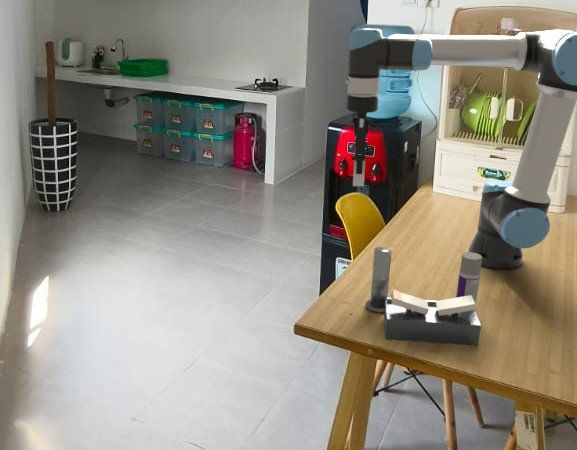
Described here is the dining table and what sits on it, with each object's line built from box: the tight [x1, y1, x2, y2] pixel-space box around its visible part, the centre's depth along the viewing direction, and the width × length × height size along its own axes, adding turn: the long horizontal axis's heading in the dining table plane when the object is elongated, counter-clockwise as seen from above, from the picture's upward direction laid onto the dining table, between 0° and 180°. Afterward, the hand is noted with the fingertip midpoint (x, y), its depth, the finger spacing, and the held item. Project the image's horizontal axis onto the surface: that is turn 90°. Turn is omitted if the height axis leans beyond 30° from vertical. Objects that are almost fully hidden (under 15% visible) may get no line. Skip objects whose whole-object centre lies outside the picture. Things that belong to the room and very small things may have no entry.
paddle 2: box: [435, 295, 477, 316], centre depth 141 cm, size 8×4×1 cm, turn 84°
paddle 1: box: [390, 289, 429, 315], centre depth 141 cm, size 8×4×2 cm, turn 86°
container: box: [455, 251, 482, 306], centre depth 150 cm, size 5×5×15 cm
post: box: [365, 246, 393, 315], centre depth 152 cm, size 6×6×15 cm
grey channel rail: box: [383, 297, 482, 347], centre depth 143 cm, size 20×9×6 cm, turn 85°
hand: (358, 178), depth 163 cm, fingers open, 13 cm apart
